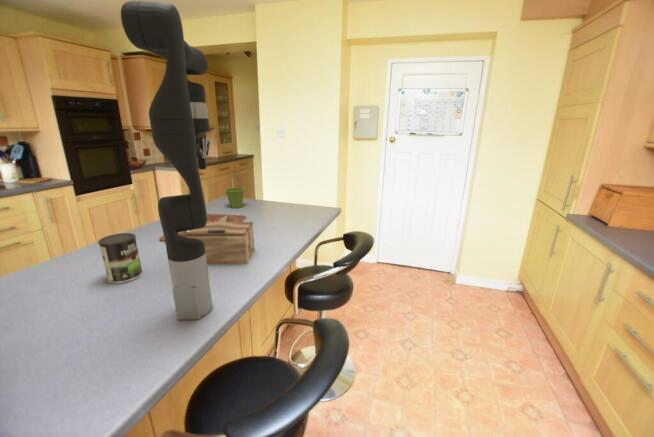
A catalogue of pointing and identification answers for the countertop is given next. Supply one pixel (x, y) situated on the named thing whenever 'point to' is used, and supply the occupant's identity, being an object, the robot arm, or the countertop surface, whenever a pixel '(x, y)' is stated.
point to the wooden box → (228, 248)
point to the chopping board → (215, 218)
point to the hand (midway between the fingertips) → (202, 169)
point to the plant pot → (235, 196)
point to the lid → (222, 229)
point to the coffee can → (121, 257)
